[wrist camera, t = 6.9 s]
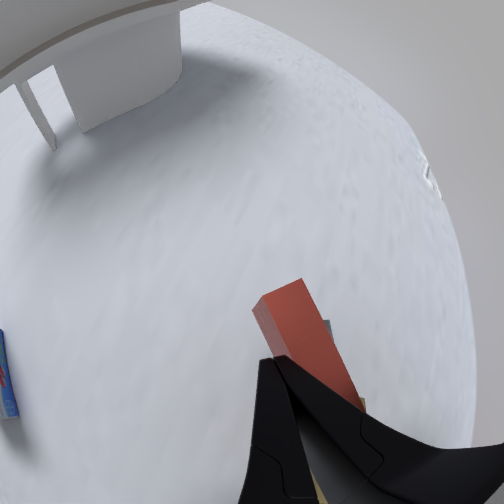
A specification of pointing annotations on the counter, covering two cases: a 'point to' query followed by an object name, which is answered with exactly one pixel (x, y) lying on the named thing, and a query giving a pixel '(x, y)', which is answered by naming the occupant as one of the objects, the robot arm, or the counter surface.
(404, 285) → the counter surface
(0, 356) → the medicine box
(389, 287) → the counter surface
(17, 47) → the architectural model
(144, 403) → the counter surface
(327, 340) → the lever
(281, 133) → the counter surface
